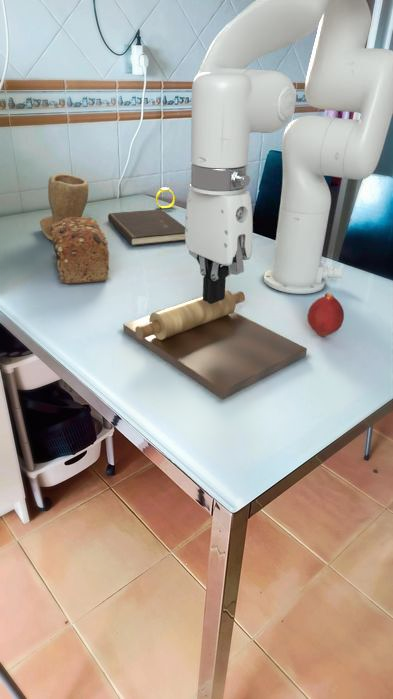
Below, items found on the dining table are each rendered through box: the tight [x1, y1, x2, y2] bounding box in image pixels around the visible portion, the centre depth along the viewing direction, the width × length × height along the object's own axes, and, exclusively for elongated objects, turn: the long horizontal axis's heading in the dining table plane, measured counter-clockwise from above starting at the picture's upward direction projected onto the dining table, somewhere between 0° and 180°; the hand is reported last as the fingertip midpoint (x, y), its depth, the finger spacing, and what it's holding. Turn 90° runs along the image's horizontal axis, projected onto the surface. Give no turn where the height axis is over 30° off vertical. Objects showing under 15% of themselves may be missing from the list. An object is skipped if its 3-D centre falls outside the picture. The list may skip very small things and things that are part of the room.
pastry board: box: [122, 311, 308, 400], centre depth 77 cm, size 18×24×2 cm
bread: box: [50, 216, 110, 285], centre depth 101 cm, size 19×11×10 cm, turn 17°
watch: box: [155, 187, 176, 210], centre depth 148 cm, size 6×3×6 cm, turn 109°
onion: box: [306, 292, 345, 338], centre depth 79 cm, size 6×6×8 cm
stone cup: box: [39, 173, 89, 242], centre depth 119 cm, size 15×12×15 cm
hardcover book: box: [107, 208, 185, 247], centre depth 128 cm, size 16×23×2 cm
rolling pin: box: [135, 288, 246, 340], centre depth 78 cm, size 22×4×4 cm, turn 131°
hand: (213, 299), depth 74 cm, fingers closed
